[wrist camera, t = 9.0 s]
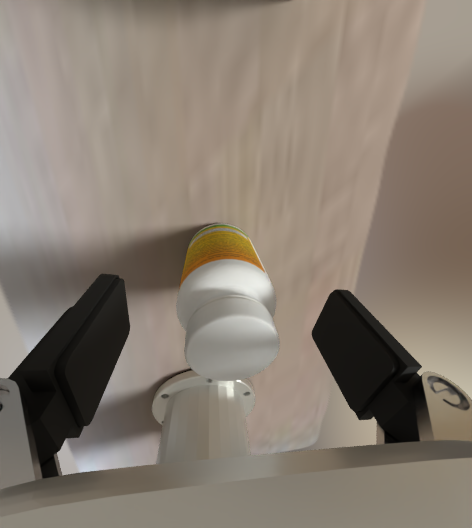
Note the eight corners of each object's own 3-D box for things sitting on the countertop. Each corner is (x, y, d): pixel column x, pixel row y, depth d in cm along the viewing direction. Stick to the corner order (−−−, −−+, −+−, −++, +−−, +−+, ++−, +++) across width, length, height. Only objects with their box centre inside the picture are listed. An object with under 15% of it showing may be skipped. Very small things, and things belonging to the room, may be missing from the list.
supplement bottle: (173, 242, 16) (134, 341, 7) (234, 209, 15) (267, 276, 7) (209, 290, 18) (209, 405, 10) (262, 263, 18) (312, 362, 9)
